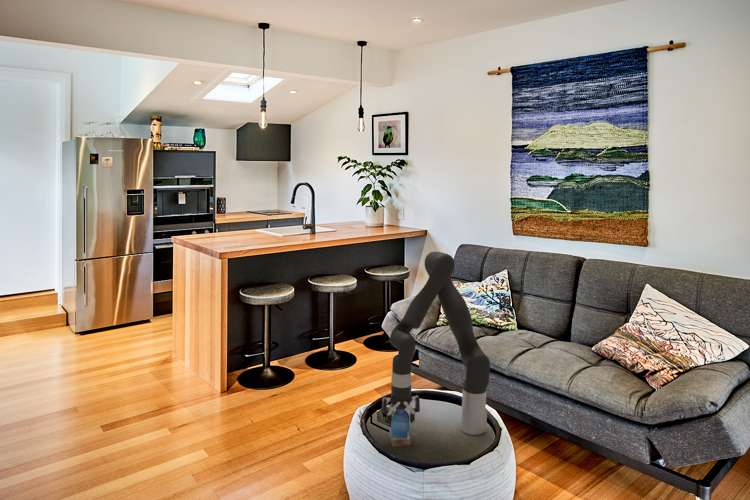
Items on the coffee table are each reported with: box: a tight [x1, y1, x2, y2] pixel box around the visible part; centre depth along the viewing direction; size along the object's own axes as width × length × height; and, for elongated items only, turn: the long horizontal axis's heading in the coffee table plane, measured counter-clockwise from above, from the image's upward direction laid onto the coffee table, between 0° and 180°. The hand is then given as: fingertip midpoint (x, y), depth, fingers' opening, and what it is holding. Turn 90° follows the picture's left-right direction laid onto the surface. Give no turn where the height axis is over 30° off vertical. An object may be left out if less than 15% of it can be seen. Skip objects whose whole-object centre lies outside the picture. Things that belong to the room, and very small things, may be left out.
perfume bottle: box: [390, 406, 410, 439], centre depth 207 cm, size 6×6×12 cm
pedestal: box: [388, 429, 412, 447], centre depth 208 cm, size 7×7×3 cm
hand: (400, 422), depth 207 cm, fingers open, 8 cm apart
